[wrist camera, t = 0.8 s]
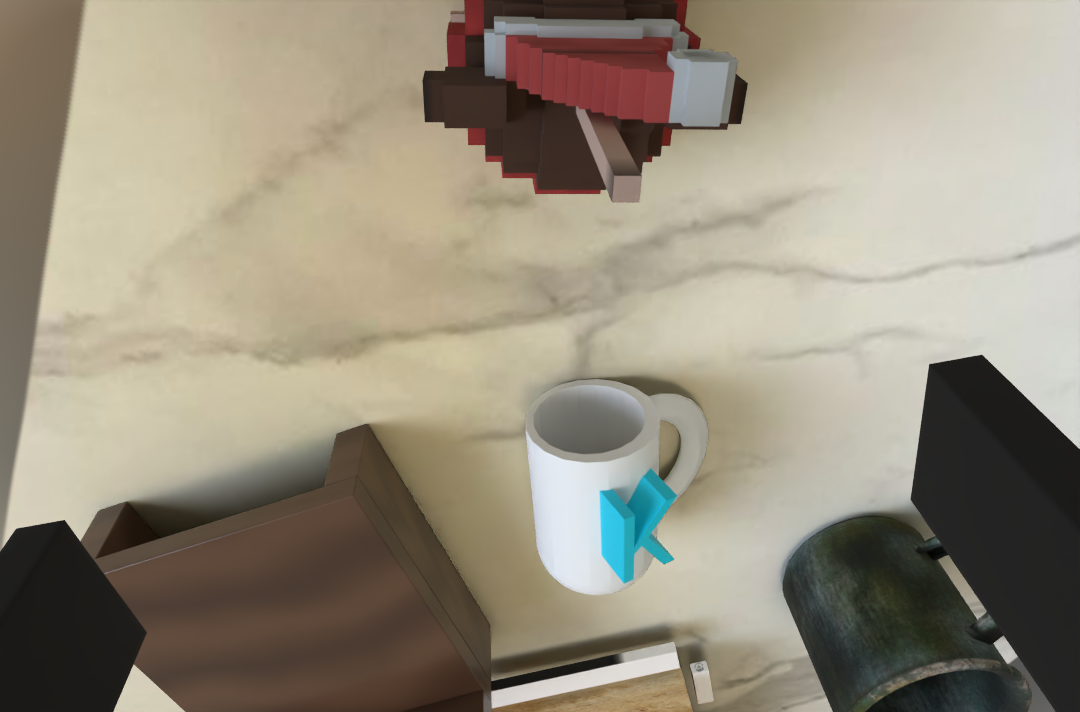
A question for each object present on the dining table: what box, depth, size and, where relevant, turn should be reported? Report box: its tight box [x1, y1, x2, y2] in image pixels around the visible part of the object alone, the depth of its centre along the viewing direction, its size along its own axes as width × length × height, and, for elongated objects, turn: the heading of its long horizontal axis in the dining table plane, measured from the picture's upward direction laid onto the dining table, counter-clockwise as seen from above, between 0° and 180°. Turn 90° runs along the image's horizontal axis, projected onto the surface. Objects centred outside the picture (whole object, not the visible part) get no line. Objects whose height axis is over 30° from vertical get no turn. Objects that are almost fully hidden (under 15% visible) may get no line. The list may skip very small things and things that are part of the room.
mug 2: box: [783, 517, 1032, 712], centre depth 48 cm, size 11×15×12 cm
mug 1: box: [525, 379, 708, 595], centre depth 44 cm, size 12×9×12 cm
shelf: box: [80, 424, 492, 712], centre depth 47 cm, size 20×18×9 cm
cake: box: [423, 0, 748, 202], centre depth 26 cm, size 11×9×18 cm
